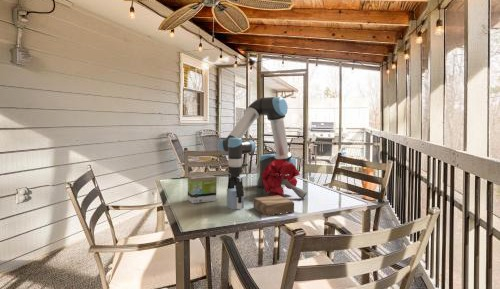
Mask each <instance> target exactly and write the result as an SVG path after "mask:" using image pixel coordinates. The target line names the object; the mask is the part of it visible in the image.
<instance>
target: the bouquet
mask: <svg viewBox="0 0 500 289" xmlns="http://www.w3.org/2000/svg"><path fill="white" fill-rule="evenodd" d="M261 176H263V178H262V182H263V184H264V185H265V186H264V188H263V189H264V191H265V193H268V194H269V196H276V195H280V196H282V197H284V193H285V192H284V188H283V186H284V187H286V189H287V190H288V189H289V190H292V191H293V193H294V194H296V195H297V196H298V198H300V199H301V200H303V199H304V198H305V196H307V193H308V192H307V191H305V190H304V189H302V188H300V187H298V186H297V184H298V180H297V178H296V177H298V176H300V172H299V170H298V169H297V167H295V166H294V165H293V163H288V162H287V161H283V160H274V161H272V162H271V163H270V164H269V165H268V166H267V167H265V169H264V171H263V172H262V175H261ZM282 185H283V186H282Z"/></svg>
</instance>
